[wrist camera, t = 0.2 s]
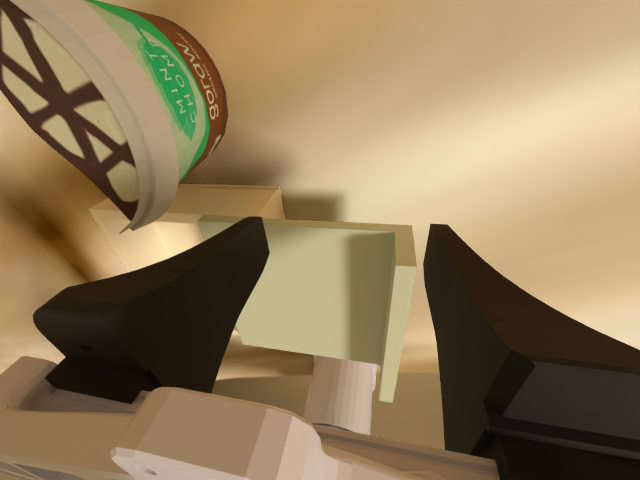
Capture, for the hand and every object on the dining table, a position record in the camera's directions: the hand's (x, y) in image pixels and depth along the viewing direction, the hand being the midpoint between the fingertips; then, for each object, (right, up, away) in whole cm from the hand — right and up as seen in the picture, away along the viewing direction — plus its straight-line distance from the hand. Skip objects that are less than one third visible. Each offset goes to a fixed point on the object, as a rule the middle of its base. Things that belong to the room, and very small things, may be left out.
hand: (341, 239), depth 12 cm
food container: (-10, +11, +7) cm, 16 cm away
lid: (-2, -4, +10) cm, 11 cm away
